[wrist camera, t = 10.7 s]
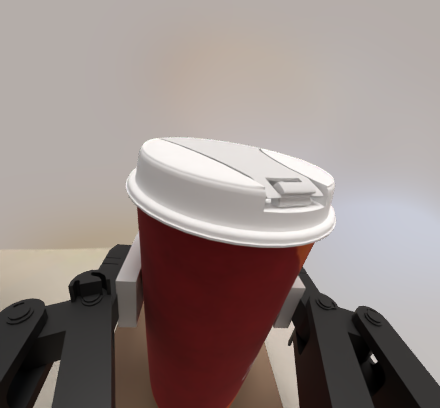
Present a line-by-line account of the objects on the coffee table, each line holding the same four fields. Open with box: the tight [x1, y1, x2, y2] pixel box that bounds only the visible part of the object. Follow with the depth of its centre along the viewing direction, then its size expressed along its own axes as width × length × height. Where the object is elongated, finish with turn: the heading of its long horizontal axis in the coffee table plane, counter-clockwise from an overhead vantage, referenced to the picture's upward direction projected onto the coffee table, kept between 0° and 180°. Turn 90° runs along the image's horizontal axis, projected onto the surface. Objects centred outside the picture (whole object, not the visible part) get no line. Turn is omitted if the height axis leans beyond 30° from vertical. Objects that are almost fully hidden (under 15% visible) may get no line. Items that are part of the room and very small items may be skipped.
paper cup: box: [126, 137, 336, 408], centre depth 11 cm, size 8×8×14 cm
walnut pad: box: [115, 303, 283, 408], centre depth 14 cm, size 12×12×1 cm
